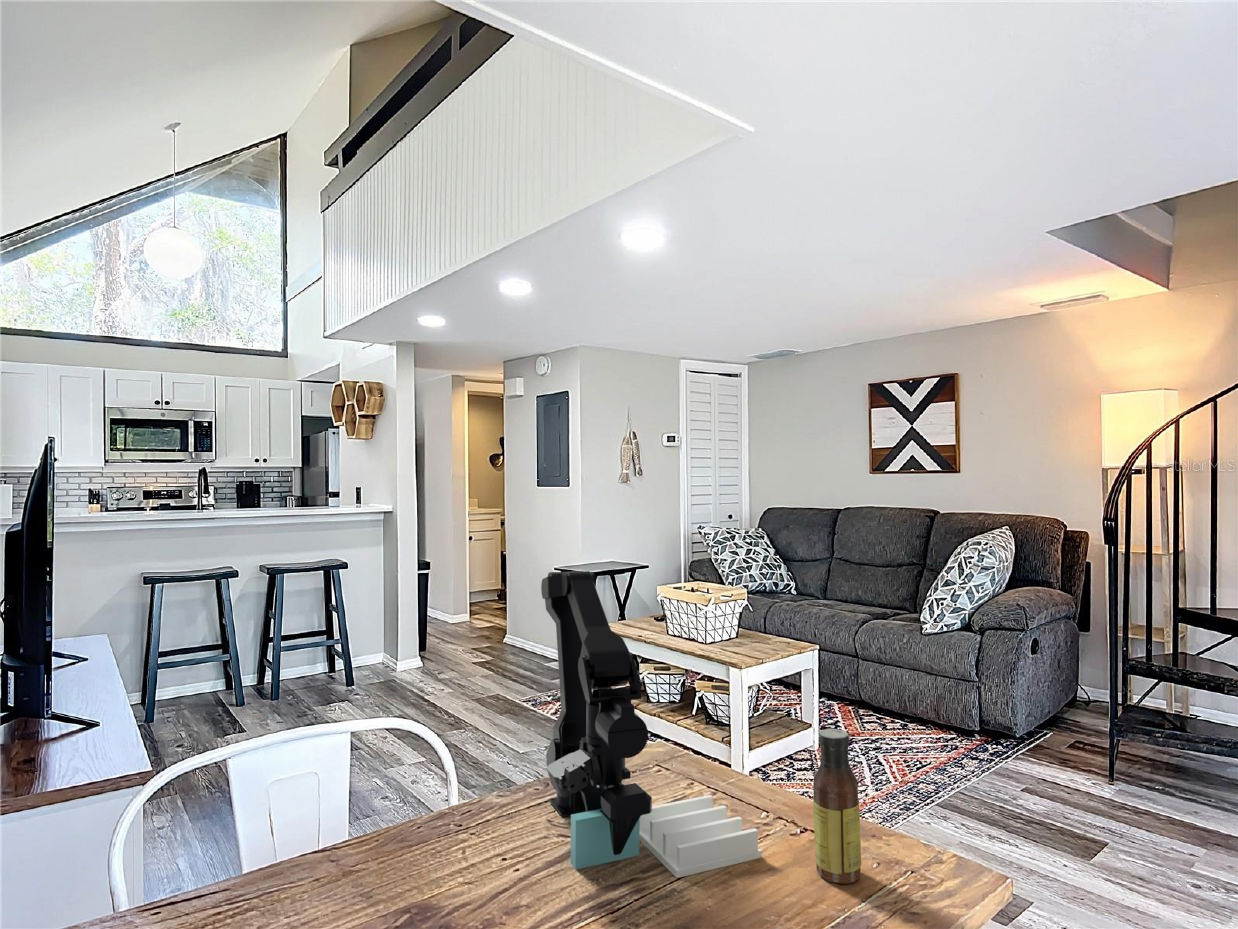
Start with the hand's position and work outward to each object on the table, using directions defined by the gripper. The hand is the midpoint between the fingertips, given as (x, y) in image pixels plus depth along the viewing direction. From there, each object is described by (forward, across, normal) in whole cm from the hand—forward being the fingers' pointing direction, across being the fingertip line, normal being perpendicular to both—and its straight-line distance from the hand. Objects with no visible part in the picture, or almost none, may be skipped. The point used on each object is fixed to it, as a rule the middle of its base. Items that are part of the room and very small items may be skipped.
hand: (605, 841), depth 112 cm
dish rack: (+3, +2, +14) cm, 14 cm away
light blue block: (+3, 0, 0) cm, 3 cm away
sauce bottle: (+3, +17, +28) cm, 33 cm away
